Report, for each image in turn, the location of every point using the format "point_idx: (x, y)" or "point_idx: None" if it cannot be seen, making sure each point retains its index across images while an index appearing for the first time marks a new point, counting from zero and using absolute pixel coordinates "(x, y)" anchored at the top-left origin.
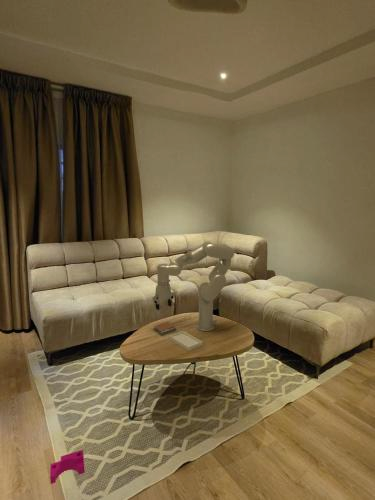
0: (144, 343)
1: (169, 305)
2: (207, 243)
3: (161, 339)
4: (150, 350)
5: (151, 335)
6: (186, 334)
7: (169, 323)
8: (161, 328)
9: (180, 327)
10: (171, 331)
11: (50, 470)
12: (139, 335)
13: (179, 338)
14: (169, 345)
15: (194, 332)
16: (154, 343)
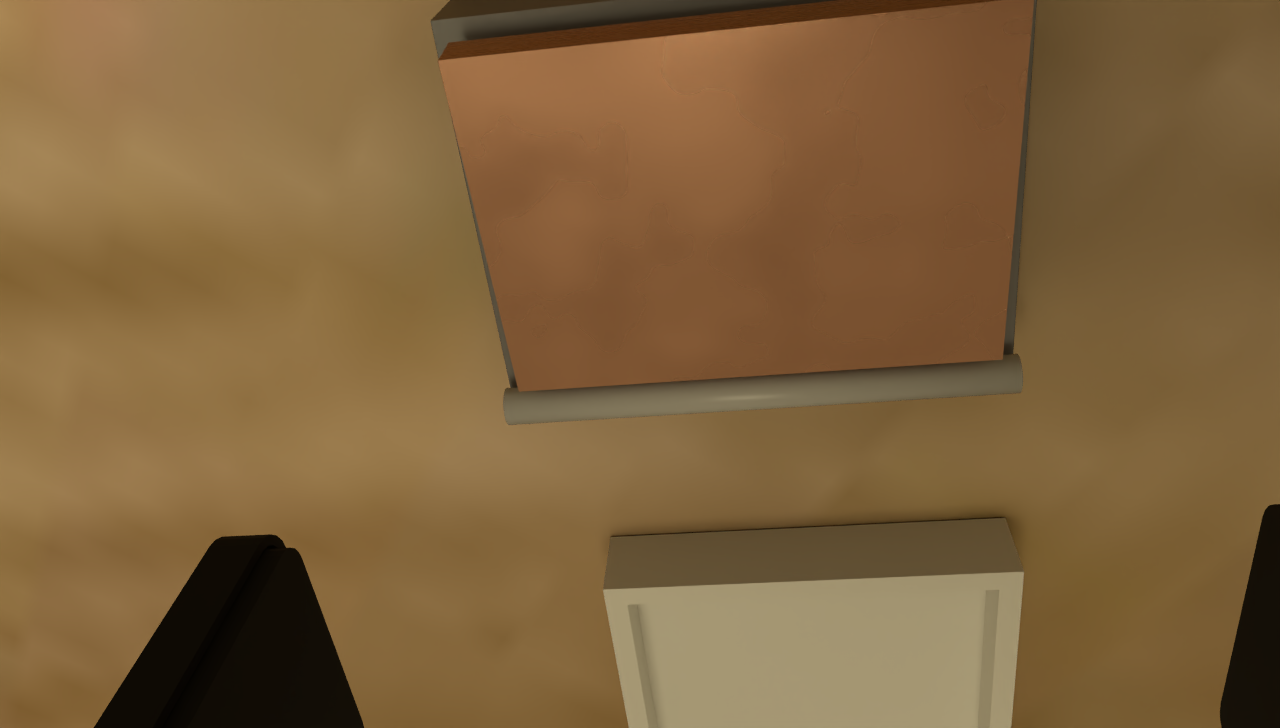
0: (71, 436)
1: (1251, 687)
2: None
3: (460, 476)
4: None
5: (313, 201)
6: (987, 676)
7: (988, 144)
8: (581, 293)
9: (1251, 207)
10: None
11: None
12: (4, 28)
13: (779, 671)
14: (500, 703)
15: None
16: (268, 531)
